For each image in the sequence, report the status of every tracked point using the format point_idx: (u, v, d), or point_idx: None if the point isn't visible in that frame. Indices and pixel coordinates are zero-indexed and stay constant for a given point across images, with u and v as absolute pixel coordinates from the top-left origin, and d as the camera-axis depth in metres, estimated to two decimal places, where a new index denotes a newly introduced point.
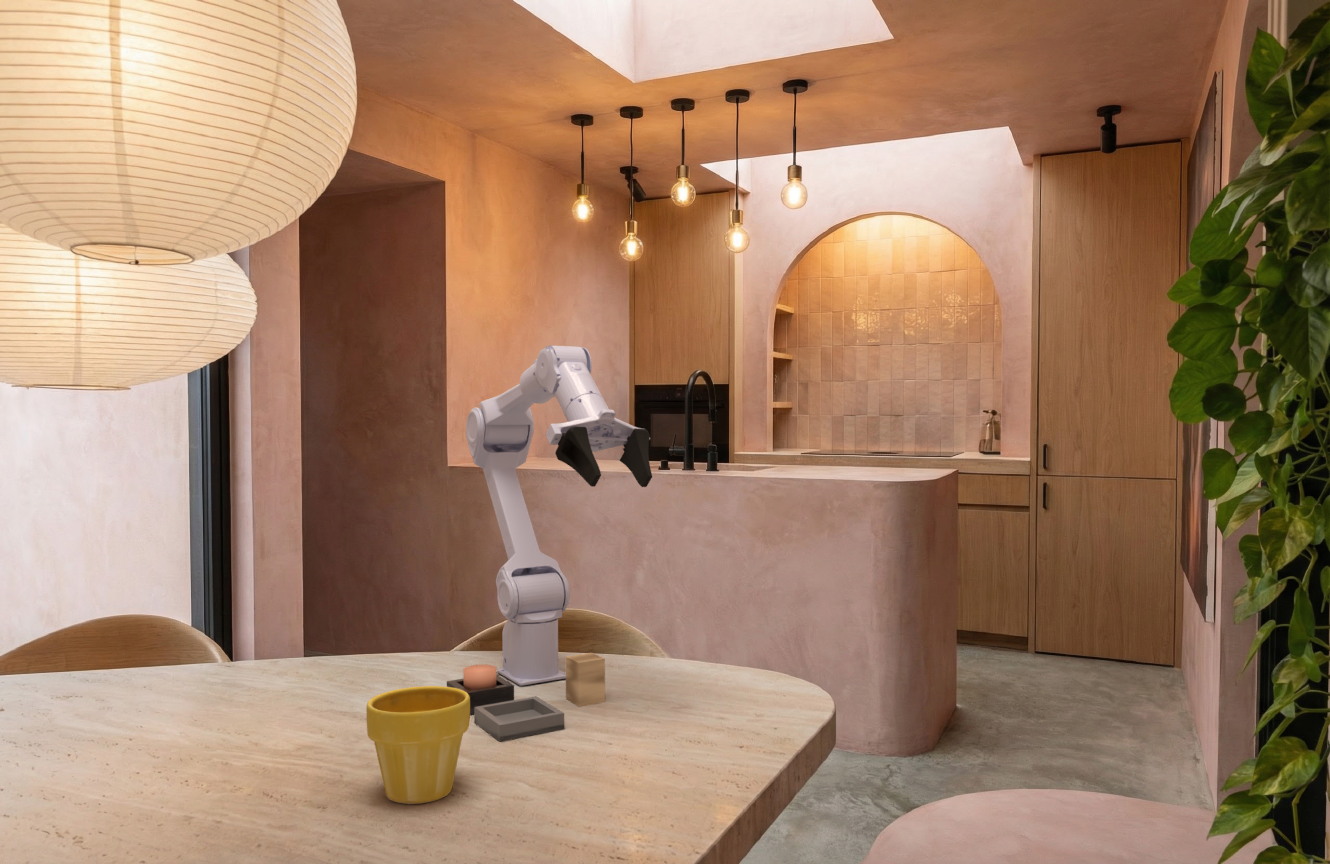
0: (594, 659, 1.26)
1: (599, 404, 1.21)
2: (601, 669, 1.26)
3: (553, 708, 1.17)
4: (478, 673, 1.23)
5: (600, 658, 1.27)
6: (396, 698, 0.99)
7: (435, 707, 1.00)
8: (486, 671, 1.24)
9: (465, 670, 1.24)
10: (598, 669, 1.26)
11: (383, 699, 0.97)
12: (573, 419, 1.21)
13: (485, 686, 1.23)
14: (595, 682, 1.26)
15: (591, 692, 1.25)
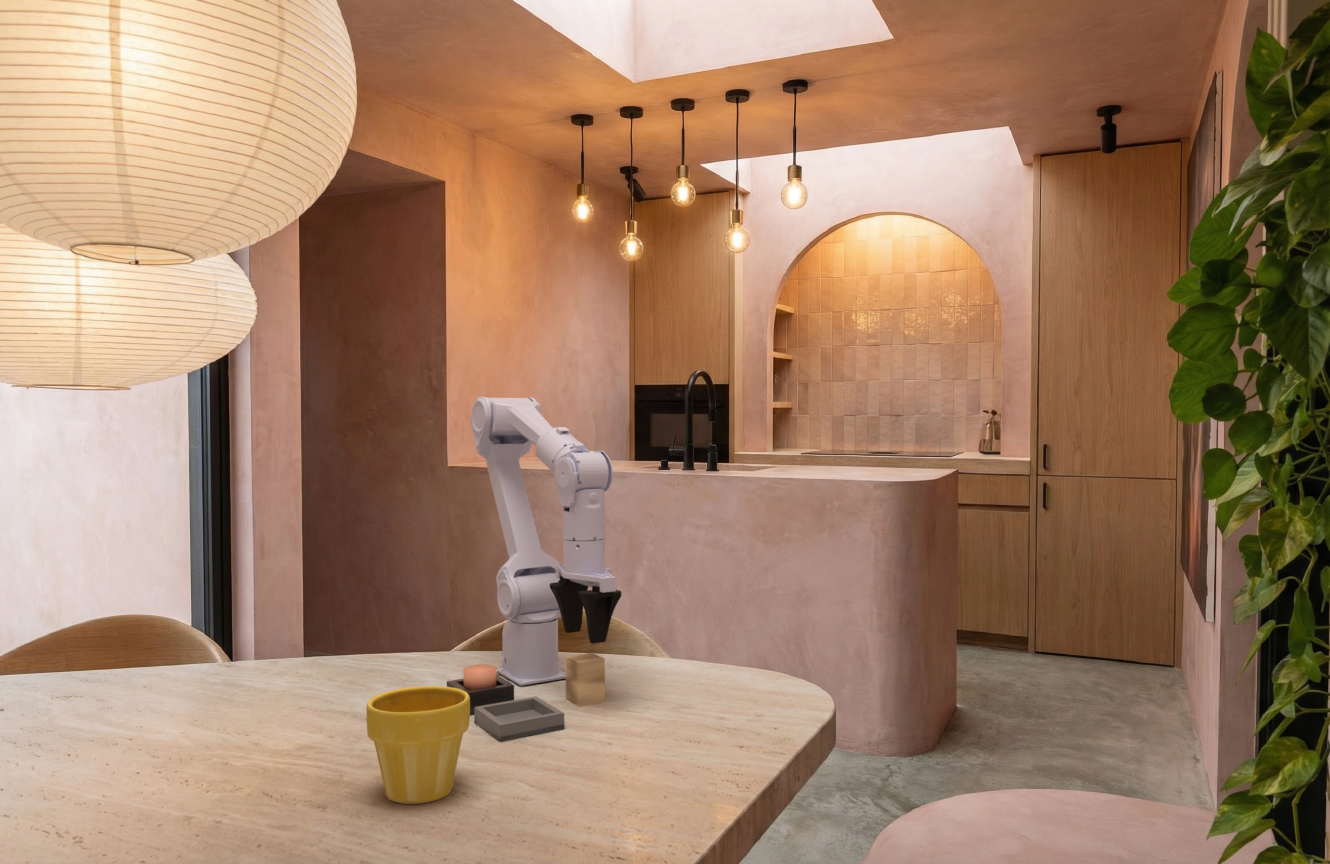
0: (594, 659, 1.26)
1: None
2: (601, 669, 1.26)
3: (553, 708, 1.17)
4: (478, 673, 1.23)
5: (600, 658, 1.27)
6: (396, 698, 0.99)
7: (435, 707, 1.00)
8: (486, 671, 1.24)
9: (465, 670, 1.24)
10: (598, 669, 1.26)
11: (383, 699, 0.97)
12: (594, 558, 1.25)
13: (485, 686, 1.23)
14: (595, 682, 1.26)
15: (591, 692, 1.25)
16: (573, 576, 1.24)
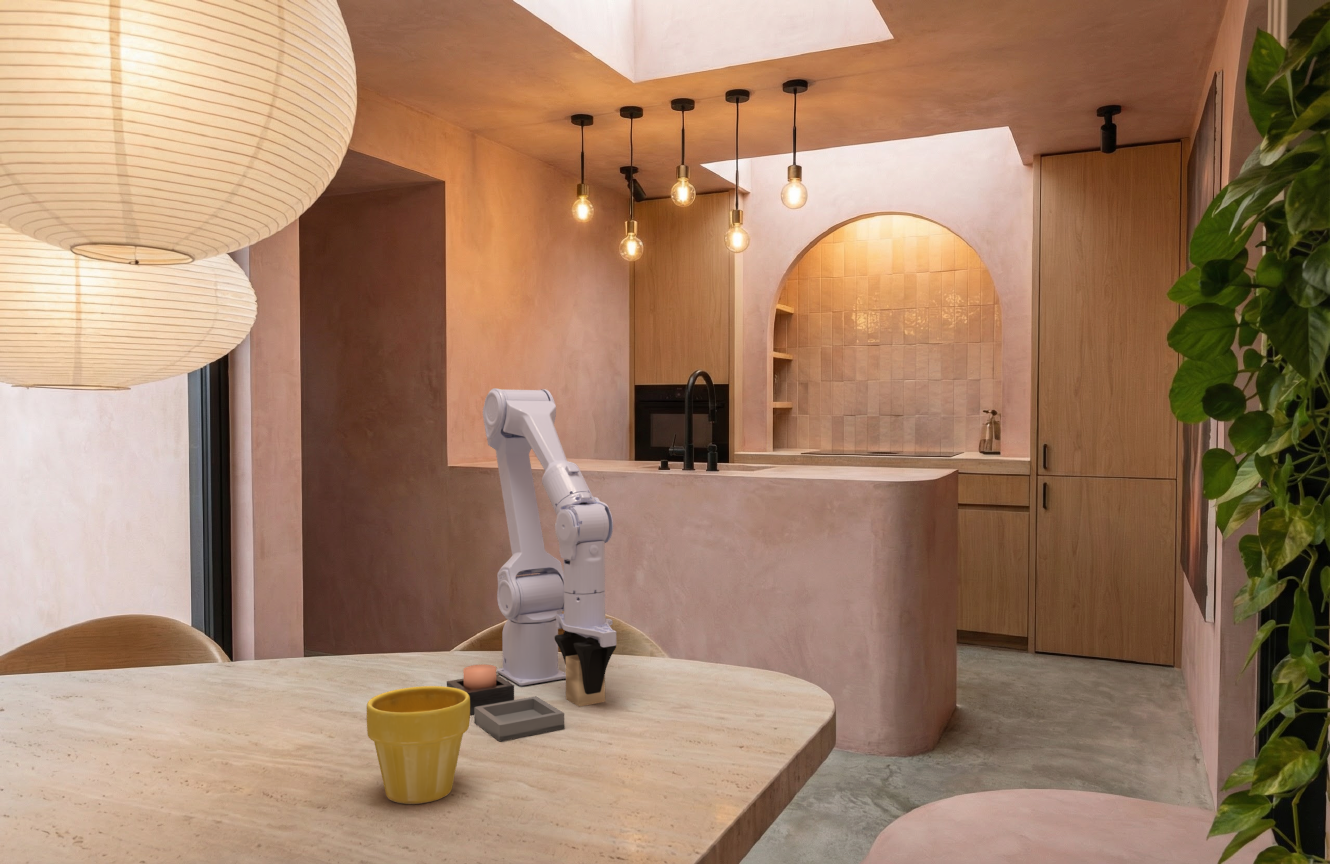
0: None
1: None
2: None
3: (553, 708, 1.17)
4: (478, 673, 1.23)
5: None
6: (396, 698, 0.99)
7: (435, 707, 1.00)
8: (486, 671, 1.24)
9: (465, 670, 1.24)
10: None
11: (383, 699, 0.97)
12: (595, 611, 1.25)
13: (485, 686, 1.23)
14: None
15: None
16: (573, 629, 1.24)
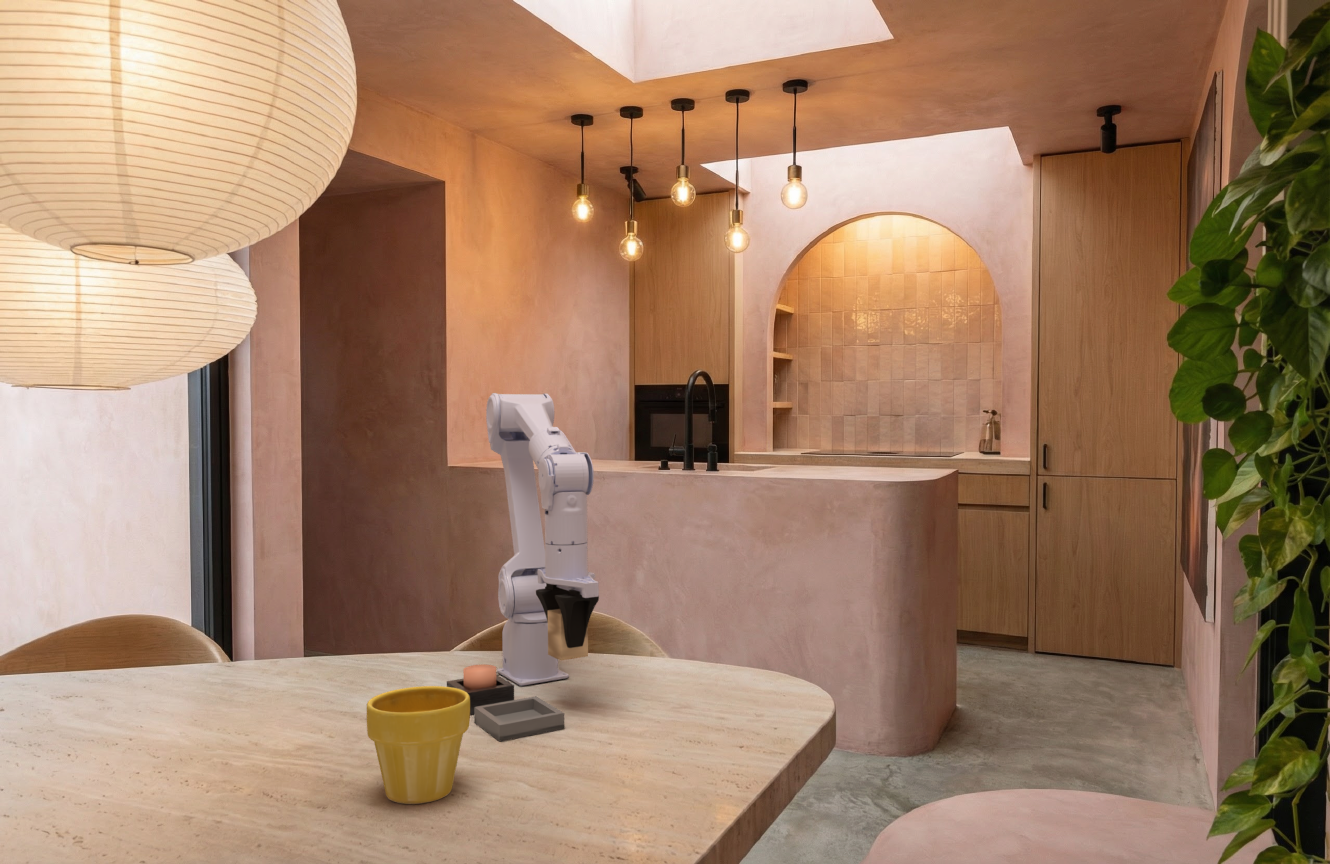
0: None
1: None
2: None
3: (553, 708, 1.17)
4: (478, 673, 1.23)
5: None
6: (396, 698, 0.99)
7: (435, 707, 1.00)
8: (486, 671, 1.24)
9: (465, 670, 1.24)
10: None
11: (383, 699, 0.97)
12: (577, 562, 1.22)
13: (485, 686, 1.23)
14: None
15: None
16: (555, 581, 1.21)
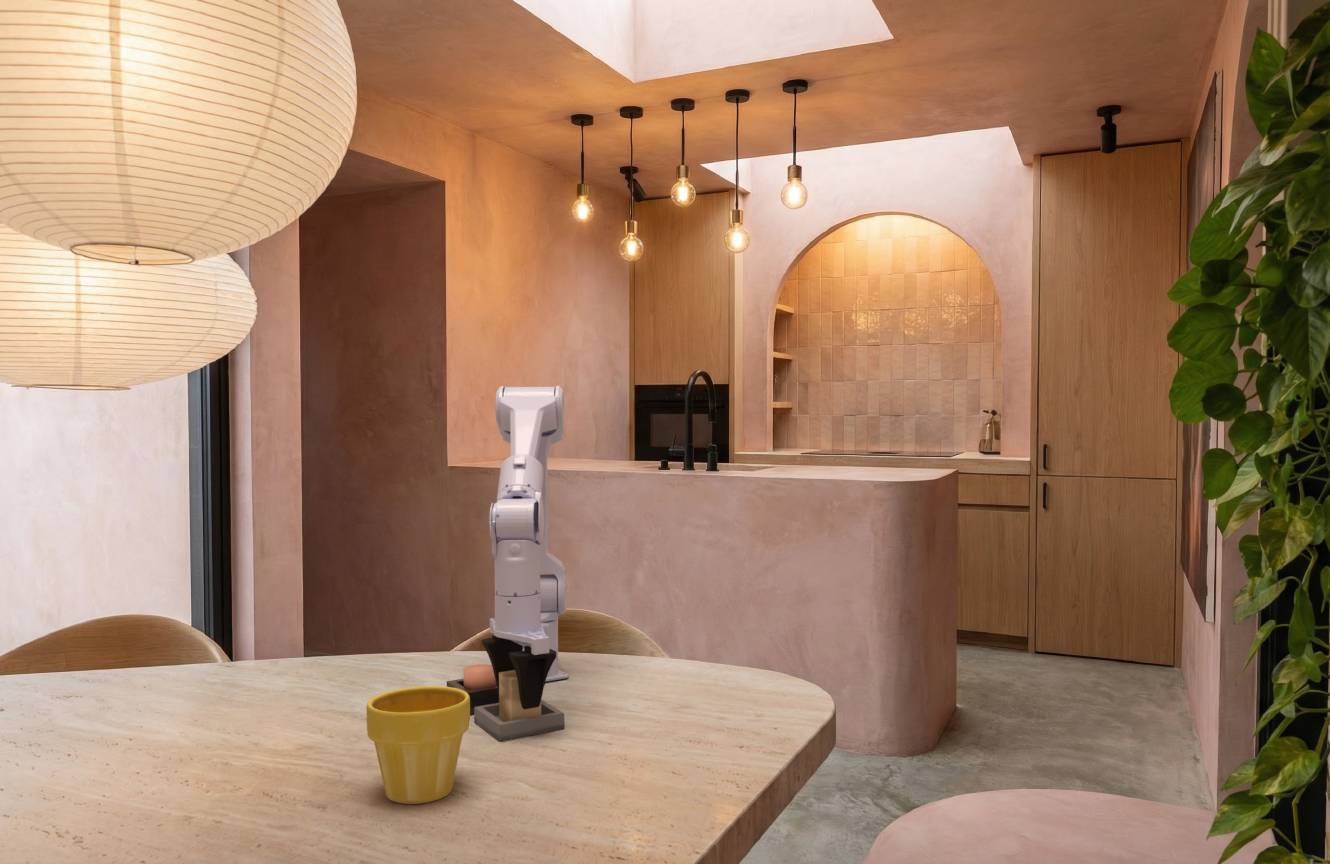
0: None
1: None
2: None
3: (553, 708, 1.17)
4: (478, 673, 1.23)
5: None
6: (396, 698, 0.99)
7: (435, 707, 1.00)
8: (486, 671, 1.24)
9: (465, 670, 1.24)
10: None
11: (383, 699, 0.97)
12: (528, 615, 1.14)
13: (485, 686, 1.23)
14: None
15: (526, 711, 1.15)
16: (504, 635, 1.14)
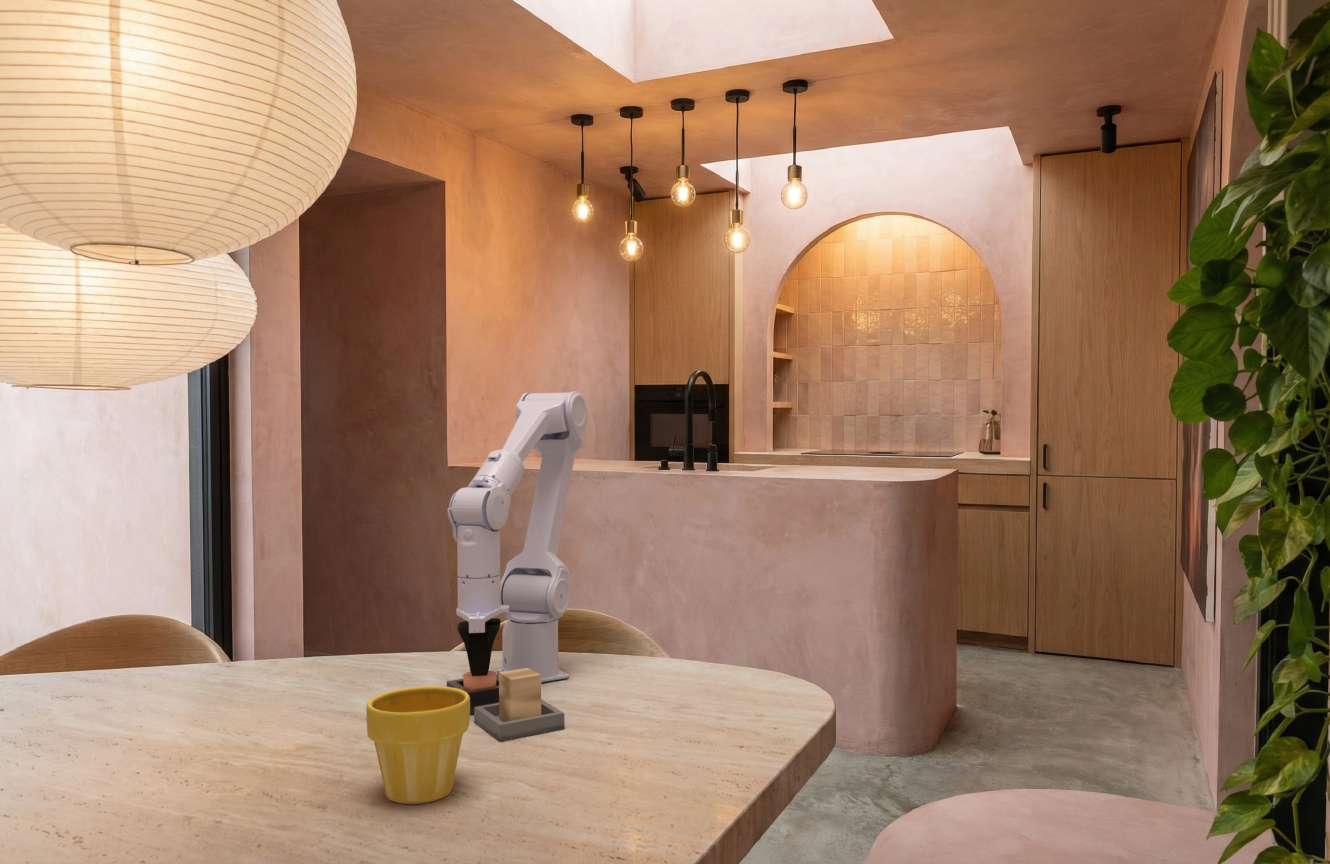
0: (529, 675, 1.16)
1: None
2: (537, 686, 1.16)
3: (553, 708, 1.17)
4: (478, 679, 1.23)
5: (536, 674, 1.16)
6: (396, 698, 0.99)
7: (435, 707, 1.00)
8: (486, 677, 1.24)
9: (465, 676, 1.24)
10: (533, 686, 1.15)
11: (382, 699, 0.97)
12: (479, 596, 1.22)
13: None
14: (530, 700, 1.15)
15: (526, 711, 1.15)
16: (459, 613, 1.23)
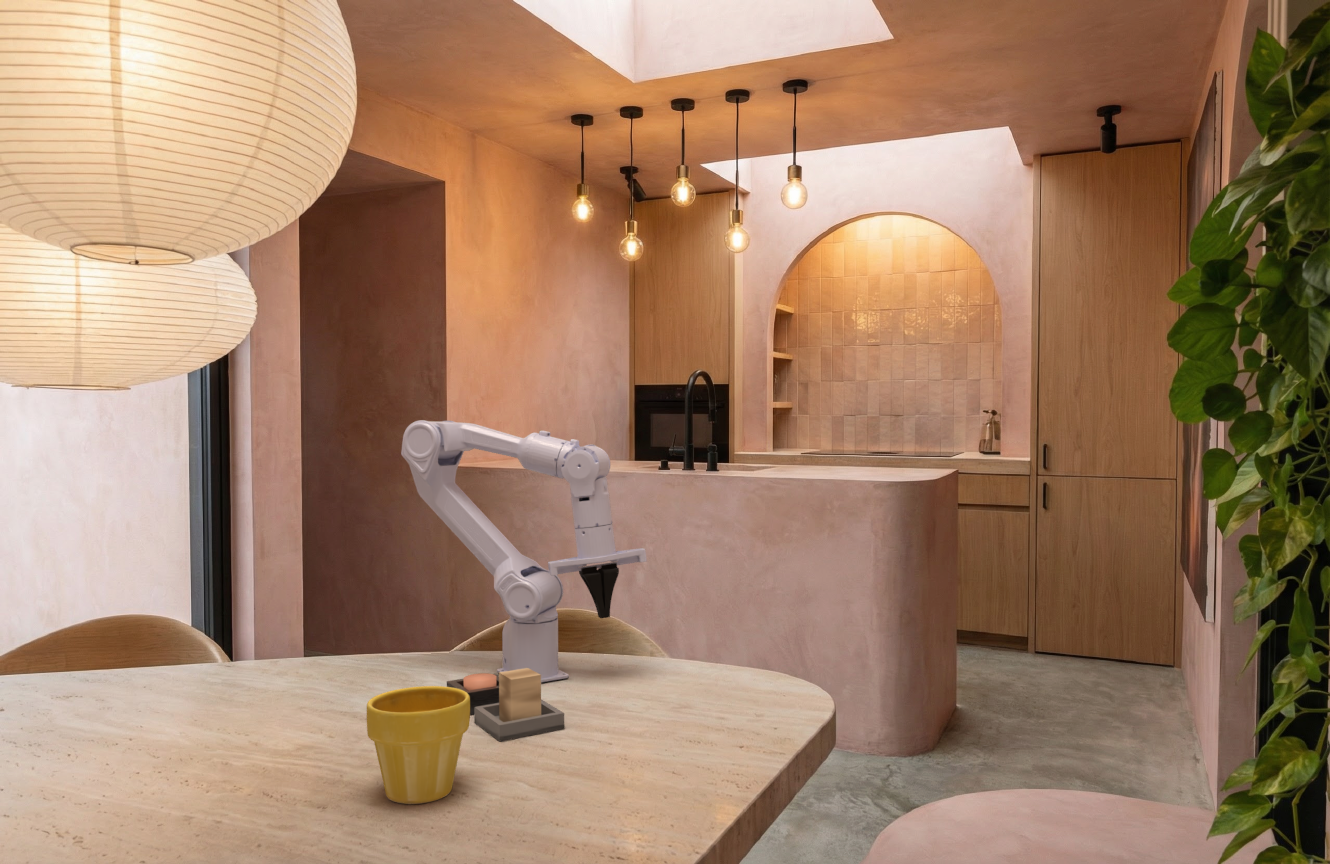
0: (529, 675, 1.16)
1: None
2: (537, 686, 1.16)
3: (553, 708, 1.17)
4: (478, 682, 1.23)
5: (536, 674, 1.16)
6: (396, 698, 0.99)
7: (435, 707, 1.00)
8: (486, 680, 1.24)
9: (465, 679, 1.24)
10: (533, 686, 1.15)
11: (383, 699, 0.97)
12: None
13: None
14: (530, 700, 1.15)
15: (526, 711, 1.15)
16: (612, 557, 1.35)
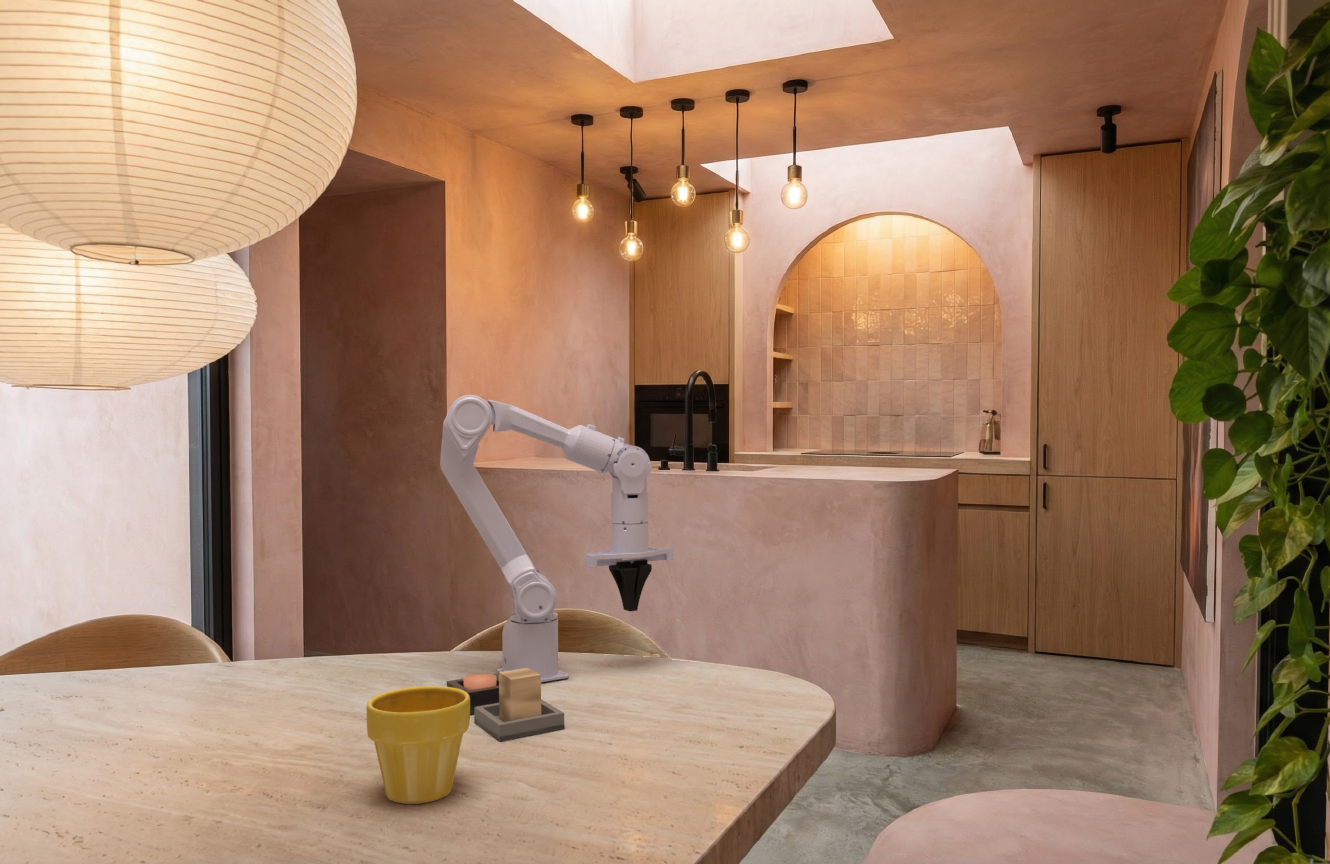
0: (529, 675, 1.16)
1: None
2: (537, 686, 1.16)
3: (553, 708, 1.17)
4: (478, 682, 1.23)
5: (536, 674, 1.16)
6: (396, 698, 0.99)
7: (435, 707, 1.00)
8: (486, 680, 1.24)
9: (465, 679, 1.24)
10: (533, 686, 1.15)
11: (383, 699, 0.97)
12: None
13: None
14: (530, 700, 1.15)
15: (526, 711, 1.15)
16: (648, 553, 1.41)
